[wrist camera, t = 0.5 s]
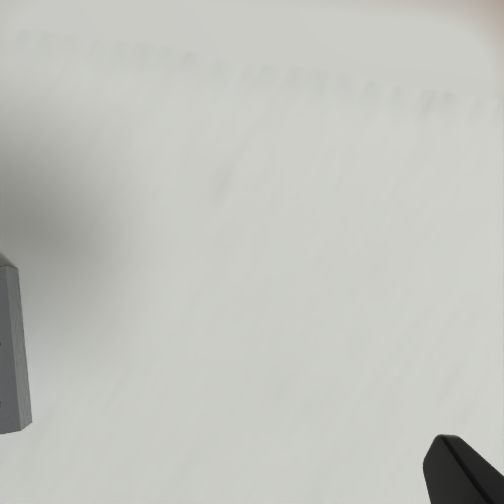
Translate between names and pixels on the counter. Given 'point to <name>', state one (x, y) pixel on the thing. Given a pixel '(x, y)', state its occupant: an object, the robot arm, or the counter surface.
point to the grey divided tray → (12, 356)
